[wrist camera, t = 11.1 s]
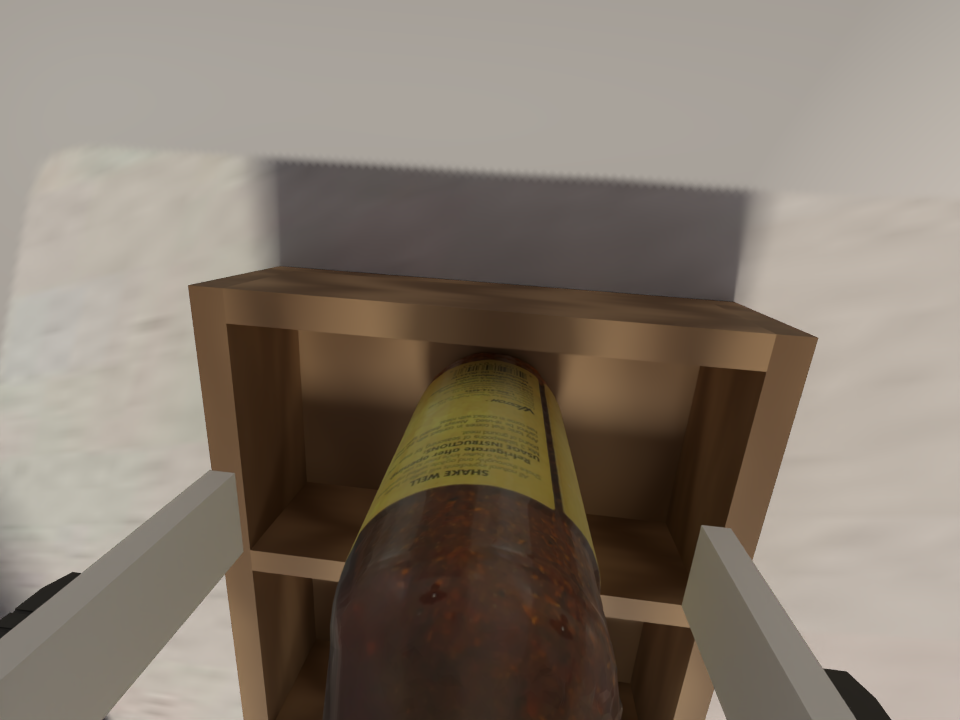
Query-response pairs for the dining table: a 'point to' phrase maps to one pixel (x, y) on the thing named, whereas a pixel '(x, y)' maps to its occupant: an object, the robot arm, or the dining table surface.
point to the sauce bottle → (474, 567)
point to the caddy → (389, 408)
